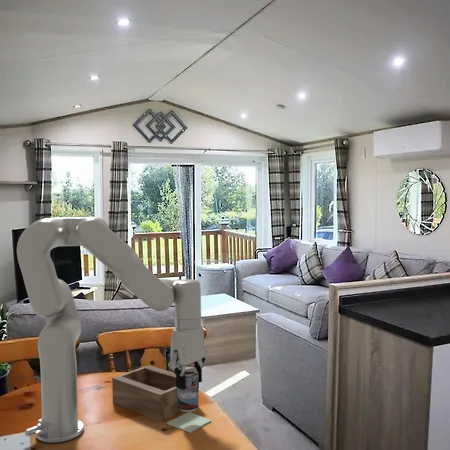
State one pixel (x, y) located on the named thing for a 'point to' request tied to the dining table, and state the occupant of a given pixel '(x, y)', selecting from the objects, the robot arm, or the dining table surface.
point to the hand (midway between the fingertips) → (189, 384)
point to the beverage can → (189, 391)
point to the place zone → (189, 422)
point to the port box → (147, 392)
